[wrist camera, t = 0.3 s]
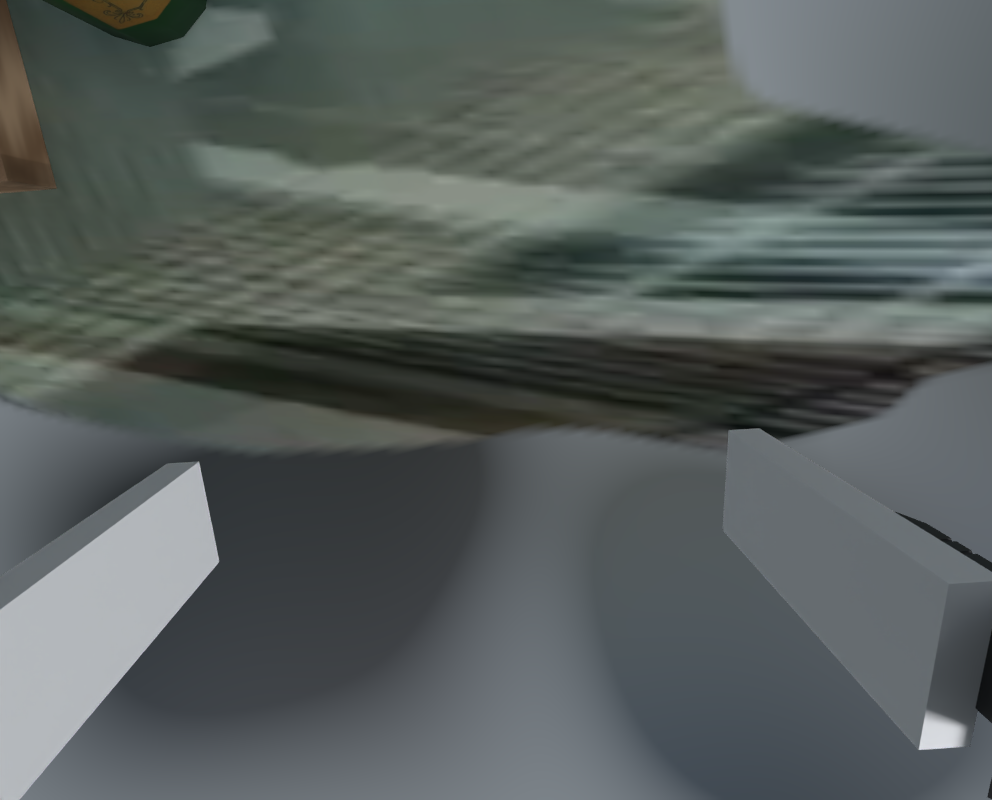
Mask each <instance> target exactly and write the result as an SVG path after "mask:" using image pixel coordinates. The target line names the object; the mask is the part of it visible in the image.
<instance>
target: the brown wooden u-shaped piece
mask: <svg viewBox="0 0 992 800" xmlns="http://www.w3.org/2000/svg"><path fill="white" fill-rule="evenodd" d="M46 189H57V187H56V184H55V180H54V176H53V172H52V169H51V165H50V161H49V158H48V154H47V150H46V146H45V143H44V139H43V135H42V131H41V128H40V124H39V120H38V117H37V113H36V109H35V105H34V102H33V98H32V94H31V91H30V87H29V83H28V79H27V76H26V72H25V68H24V65H23V61H22V57H21V53H20V50H19V46H18V42H17V38H16V35H15V31H14V27H13V24H12V20H11V16H10V12H9V9H8V5H7V1H6V0H0V193H10V192H22V191H34V190H46Z"/></svg>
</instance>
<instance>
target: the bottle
mask: <svg viewBox="0 0 992 800" xmlns="http://www.w3.org/2000/svg"><path fill="white" fill-rule="evenodd" d="M43 1H45V2H47V3H49V4H51V5H53V6H55V7H57V8H59V9H61V10H63V11H65V12H67V13H69V14H71V15H73V16H75V17H77V18H79V19H81V20H83V21H85V22H87V23H89V24H91V25H93V26H95V27H97V28H99V29H101V30H103V31H105V32H107V33H109V34H111V35H113V36H115V37H119V38H122V39H125V40H129V41H132V42H135V43H139V44H142V45H146V46H149V47H151V46H155V45H158V44H161V43H165V42H168V41H171V40H175V39H178V38H182V37H184V36H185V34H186V33H187V32H188V30H189V29H190V28H191V27H192V25H193V24H194V23H195V22H196V20H197V19H198V18H199V16H200V15H201V14H202V13H203V11H204V10H205V9H206V1H207V0H43Z"/></svg>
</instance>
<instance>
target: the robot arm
mask: <svg viewBox="0 0 992 800" xmlns="http://www.w3.org/2000/svg"><path fill="white" fill-rule="evenodd" d="M723 531H724V532H725V533H726V534H727V535H728V537H729V538H730V539H731V540H732V541H733V542H734V543H735V544H736V545H737V547H738V548H739V549H740V550H741V551H742V552H743V553H744V555H745V556H746V557H747V558H748V559H749V560H750V561H751V562H752V563H753V565H754V566H755V567H756V568H757V569H758V570H759V571H760V572H761V574H762V575H763V576H764V577H765V578H766V579H767V580H768V581H769V583H771V585H772V586H773V587H774V588H775V589H776V590H777V592H778V593H779V594H780V595H781V596H782V597H783V598H784V599H785V601H786V602H788V604H789V605H790V606H791V607H792V608H793V610H795V612H796V613H797V614H798V615H799V616H800V617H801V618H802V620H803V621H804V622H805V623H806V624H807V625H808V626H809V627H810V629H812V631H813V632H814V633H815V634H816V635H817V636H818V638H819V639H820V640H821V641H822V642H823V643H824V644H825V645H826V646H827V648H828V649H829V650H830V651H831V652H832V653H833V654H834V655H835V657H836V658H837V659H838V660H839V661H840V662H841V663H842V664H843V666H844V667H845V668H846V669H847V670H848V671H849V672H850V673H851V675H852V676H853V677H854V678H855V679H856V680H857V681H858V682H859V684H861V686H862V687H863V688H864V689H865V690H866V691H867V693H868V694H869V695H870V696H871V697H872V698H873V699H874V700H875V701H876V702H877V704H878V705H879V706H880V707H881V708H882V709H883V710H884V712H885V713H886V714H887V715H888V716H889V717H890V718H891V719H892V721H893V722H894V723H895V724H896V725H897V726H898V727H899V728H900V729H901V731H902V732H903V733H904V734H905V735H906V736H907V737H908V738H909V740H910V741H912V743H913V744H914V745H915V746H916V747H917V748H918V750H923V749H924V750H925V749H939V748H952V747H967V746H970V745H971V740H972V735H973V731H974V725H975V721H976V716H977V712H978V711H979V712H980V713H981V714H982V715H983V716H985V717H986V718H987V719H988V720H989V721H990V722H991V723H992V563H991V562H990V561H988V560H986V559H985V558H983V557H981V556H980V555H978V554H972V551H971V550H970V549H968V548H966V547H965V546H963V545H961V544H959V543H958V542H955V541H953V542H952V540H951V538H950V537H948V536H946V535H945V534H943V533H941V532H940V531H938V530H936V529H935V528H933V527H931V526H930V525H928V524H926V523H924V522H921V521H918V520H916V519H913V518H910V517H908V516H905V515H902V514H900V513H897V512H894V511H892V510H890V509H889V508H887V507H886V506H884V505H882V504H881V503H879V502H877V501H876V500H874V499H873V498H871V497H869V496H868V495H866V494H864V493H863V492H861V491H860V490H858V489H856V488H855V487H853V486H851V485H850V484H848V483H847V482H845V481H843V480H842V479H840V478H839V477H837V476H835V475H834V474H832V473H830V472H829V471H827V470H825V469H824V468H822V467H821V466H819V465H817V464H816V463H814V462H813V461H811V460H809V459H807V458H806V457H804V456H803V455H801V454H800V453H798V452H796V451H795V450H793V449H792V448H790V447H788V446H787V445H785V444H783V443H782V442H780V441H779V440H777V439H775V438H774V437H772V436H770V435H769V434H767V433H766V432H764V431H762V430H761V429H742V430H729V435H728V451H727V468H726V485H725V500H724V517H723ZM218 563H219V558H218V554H217V549H216V544H215V539H214V534H213V529H212V524H211V519H210V514H209V509H208V504H207V499H206V494H205V490H204V484H203V479H202V474H201V469H200V465H199V462H187V463H170V464H166V465H165V466H163V467H162V468H161V469H159V470H157V471H156V472H154V473H153V474H151V475H150V476H148V477H147V478H145V479H144V480H143V481H141V482H140V483H138V484H136V485H135V486H133V487H132V488H131V489H129V490H128V491H126V492H125V493H123V494H122V495H120V496H119V497H117V498H116V499H114V500H113V501H111V502H110V503H108V504H107V505H105V506H104V507H102V508H101V509H99V510H98V511H97V512H95V513H94V514H92V515H91V516H89V517H88V518H86V519H85V520H83V521H82V522H80V523H79V524H77V525H76V526H74V527H73V528H71V529H70V530H68V531H67V532H65V533H64V534H62V535H61V536H59V537H58V538H57V539H55V540H53V541H52V542H50V543H49V544H48V545H46V546H45V547H43V548H42V549H40V550H39V551H37V552H36V553H34V554H33V555H31V556H30V557H28V558H27V559H25V560H24V561H22V562H21V563H20V564H18V565H16V566H15V567H13V568H12V569H10V570H9V571H8V572H6V573H5V574H3V575H2V576H0V800H19V799H20V798H21V797H22V796H23V795H24V793H25V792H26V791H27V790H28V789H29V788H30V786H31V785H32V784H33V783H34V782H35V780H36V779H37V778H38V777H39V776H40V774H41V773H42V772H43V771H44V770H45V769H46V767H47V766H48V765H49V764H50V763H51V761H52V760H53V759H54V758H55V757H56V755H57V754H58V753H59V752H60V751H61V749H62V748H63V747H64V746H65V745H66V743H67V742H68V741H69V740H70V739H71V738H72V736H73V735H74V734H75V733H76V731H77V730H78V729H79V728H80V727H81V726H82V724H83V723H84V722H85V721H86V720H87V719H88V717H89V716H90V715H91V714H92V712H93V711H94V710H95V709H96V708H97V707H98V705H99V704H100V703H101V702H102V701H103V699H104V698H105V697H106V696H107V695H108V694H109V692H110V691H111V690H112V689H113V687H114V686H115V685H116V684H117V683H118V682H119V680H120V679H121V678H122V677H123V676H124V674H125V673H126V672H127V671H128V670H129V668H130V667H131V666H132V665H133V664H134V663H135V661H136V660H137V659H138V658H139V657H140V655H141V654H142V653H143V652H144V651H145V649H146V648H147V647H148V646H149V645H150V644H151V642H152V641H153V640H154V638H156V636H157V635H158V634H159V633H160V632H161V630H162V629H163V628H164V627H165V626H166V624H167V623H168V622H169V621H170V619H172V617H173V616H174V615H175V614H176V613H177V611H178V610H179V609H180V608H181V607H182V605H183V604H184V603H185V602H186V601H187V599H188V598H189V597H190V596H191V595H192V594H193V592H194V591H195V590H196V589H197V588H198V586H199V585H200V584H201V583H202V582H203V580H204V579H205V578H206V577H207V576H208V574H209V573H210V572H211V571H212V570H213V569H214V567H215V566H216V565H217V564H218ZM988 798H991V799H992V780H991V784H990V788H989V793H988Z"/></svg>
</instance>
